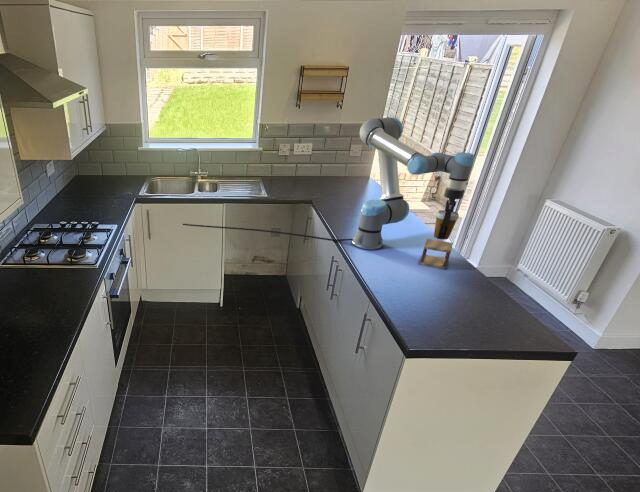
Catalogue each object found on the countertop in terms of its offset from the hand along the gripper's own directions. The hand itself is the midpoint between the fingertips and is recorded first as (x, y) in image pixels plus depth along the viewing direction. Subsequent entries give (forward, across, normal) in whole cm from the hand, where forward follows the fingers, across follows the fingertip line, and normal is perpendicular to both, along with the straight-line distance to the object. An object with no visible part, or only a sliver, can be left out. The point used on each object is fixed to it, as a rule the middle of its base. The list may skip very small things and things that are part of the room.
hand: (441, 236), depth 208 cm
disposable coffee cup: (+1, 0, 0) cm, 1 cm away
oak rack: (+14, 0, 0) cm, 14 cm away
